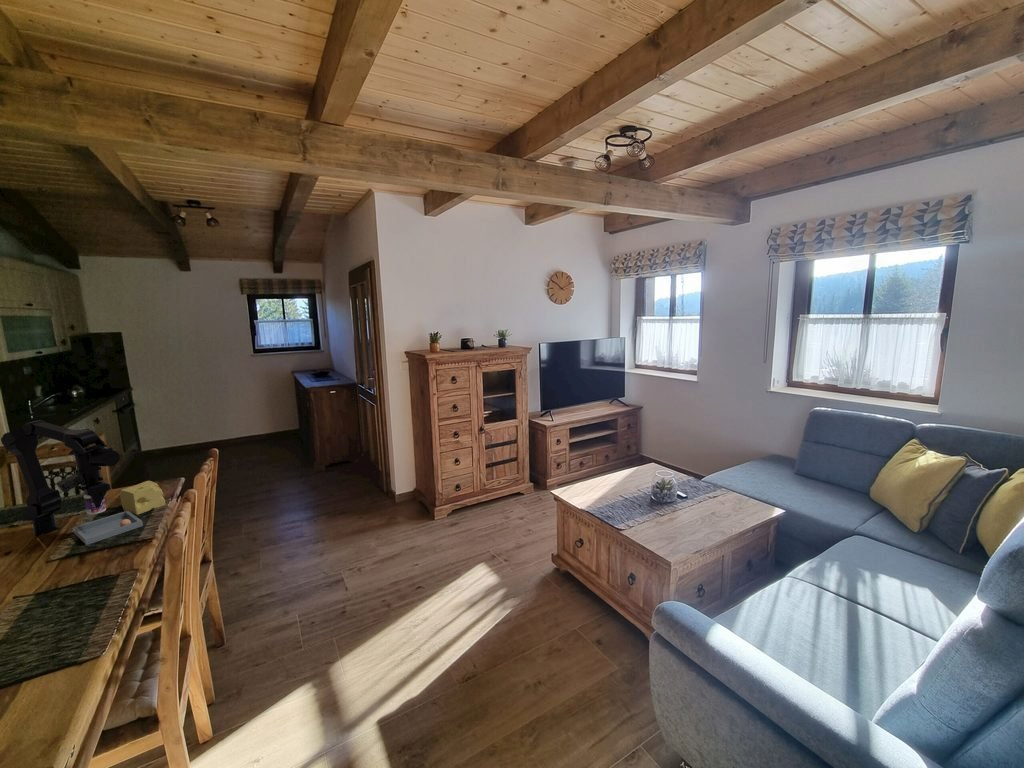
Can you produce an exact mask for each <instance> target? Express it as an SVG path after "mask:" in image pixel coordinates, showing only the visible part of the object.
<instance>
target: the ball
mask: <svg viewBox="0 0 1024 768" xmlns="http://www.w3.org/2000/svg"><path fill="white" fill-rule="evenodd" d="M128 524H131V521H130V520H129V519H124V520H122V521H121V522H120V527H122V526H125V525H128Z"/></svg>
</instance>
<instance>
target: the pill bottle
mask: <svg viewBox="0 0 1024 768" xmlns="http://www.w3.org/2000/svg"><path fill="white" fill-rule="evenodd" d="M83 502H84V506H85V507H84V508H85V511H86V512H85V513H86V514H87V515H91V516H92V515H97V514H101V513H104V512H105V511H106V510H107V503H106V498H105V497H104V498H103V500H102V503H101V505H100V507H98V508H96V507H95V505H94V503H93V501H92V498H91V496H88V495H86V494H84V495H83Z"/></svg>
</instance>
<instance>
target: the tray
mask: <svg viewBox="0 0 1024 768" xmlns="http://www.w3.org/2000/svg"><path fill="white" fill-rule="evenodd" d="M124 519H129V520H130V521H131V524H128V525H125V526H122V527H120V522H121V521H122V520H124ZM143 526H144V522H143V520H142V519H140V518H139V517H137V515H136V514H134V513H131V512H129V511H124V510H123V511H121V512H118V513H115V514H112V515H109V516H105V517H102V518H99V519H96V520H92V521H89V522H86V523H83V524H79V525H77V526H73V527H72V532H73V534H74V535H75V536H77V538H78V539H79V540H80V541H81V542H83V543H84V544H85V546H87V545H88V546H89V545H91V544H95V543H97V542H101V541H104V540H105V539H109V538H112V537H114V536H115V537H116V536H117V535H120V534H123V533H126V532H129V531H132V530H135V529H137V528H141V527H143Z"/></svg>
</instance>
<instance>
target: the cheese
mask: <svg viewBox="0 0 1024 768" xmlns="http://www.w3.org/2000/svg"><path fill="white" fill-rule="evenodd" d="M163 495H164V492H163V490H162V488H161V487H160V486H159V484H157V483H156V482H154V481H151V480H146V481H143V482H141V483H138V484H134V485H132V486H129V487H126V488H122V489H120V495H119V496H120V498H119V499H120V503H121V507H122V509H123V512H124V511H129V512H130V513H132V514H133V515H135V516H137V515H140V514H144V513H146V512H149V511H151V510H152V509H157V508H160V507H162V506H166V499H165V498H164V497H163Z"/></svg>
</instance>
